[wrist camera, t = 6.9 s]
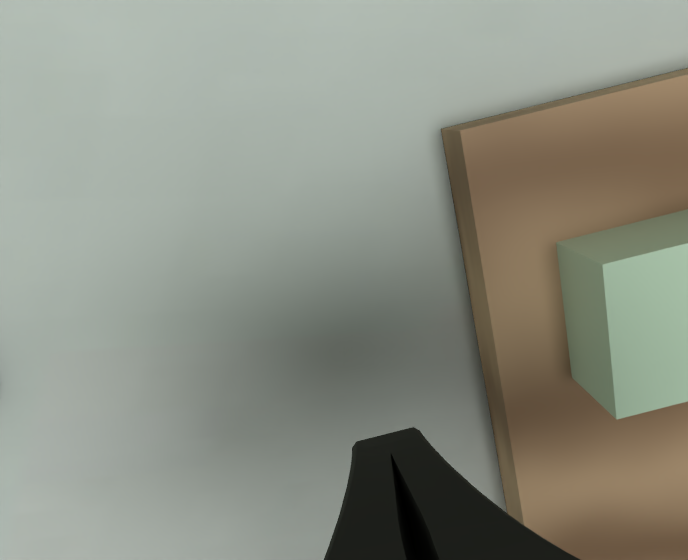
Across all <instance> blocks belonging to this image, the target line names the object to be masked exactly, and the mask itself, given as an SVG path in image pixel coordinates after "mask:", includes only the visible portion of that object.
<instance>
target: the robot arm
mask: <svg viewBox="0 0 688 560" xmlns="http://www.w3.org/2000/svg"><path fill="white" fill-rule="evenodd" d="M324 560H581V559H579V558H577V557H575V556H573V555H571V554H569V553H567V552H566V551H564V550H562V549H561V548H559V547H557V546H556V545H554V544H552V543H551V542H549V541H547V540H546V539H544V538H543V537H541V536H539V535H538V534H536V533H535V532H533V531H532V530H530V529H529V528H527V527H526V526H524V525H523V524H521V523H520V522H519V521H517V520H516V519H514V518H513V517H511V516H510V515H509V514H507V513H506V512H505V511H503V510H502V509H501V508H499V507H498V506H497V505H496V504H494V503H493V502H492V501H491V500H489V499H488V498H487V497H485V496H484V495H483V494H482V493H481V492H479V491H478V490H477V489H476V488H475V487H474V486H472V485H471V484H470V483H469V482H468V481H467V480H466V479H465V478H464V477H462V476H461V475H460V474H459V473H458V472H457V471H456V470H455V469H454V468H453V467H452V466H451V465H450V464H449V463H448V462H446V461H445V459H444V458H443V457H442V456H441V455H440V454H439V453H438V452H437V451H436V450H435V449H434V448H433V447H432V446H431V445H430V443H429V442H428V441H427V440H426V439H425V437H424V436H423V435H422V433H421V432H420V431H419V430H417V429H416V428H414V427H412V428H408V429H404V430H401V431H397V432H393V433H389V434H385V435H381V436H377V437H373V438H369V439H365V440H361V441H358V442H356V443H355V445H354V446H353V448H352V462H351V469H350V474H349V479H348V484H347V489H346V492H345V496H344V500H343V504H342V508H341V511H340V515H339V518H338V521H337V524H336V527H335V530H334V533H333V536H332V539H331V542H330V544H329V547H328V550H327V553H326V555H325V558H324Z"/></svg>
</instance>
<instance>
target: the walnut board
mask: <svg viewBox="0 0 688 560" xmlns="http://www.w3.org/2000/svg"><path fill="white" fill-rule="evenodd" d="M441 132H442V137H443V143H444V149H445V155H446V161H447V166H448V172H449V178H450V184H451V189H452V195H453V201H454V207H455V213H456V218H457V224H458V230H459V236H460V242H461V247H462V253H463V259H464V265H465V271H466V276H467V282H468V288H469V294H470V299H471V305H472V311H473V317H474V323H475V328H476V334H477V340H478V346H479V352H480V357H481V363H482V369H483V375H484V380H485V386H486V392H487V398H488V404H489V409H490V415H491V421H492V427H493V433H494V438H495V444H496V450H497V456H498V462H499V467H500V473H501V479H502V485H503V490H504V496H505V502H506V508H507V514H509V515H510V516H511V517H513V518H514V519H516V520H517V521H519V522H520V523H521V524H523V525H524V526H526V527H527V528H529V529H530V530H532V531H533V532H535V533H536V534H538V535H539V536H541V537H543V538H544V539H546V540H547V541H549V542H551V543H552V544H554V545H556V546H557V547H559V548H561V549H562V550H564V551H566V552H567V553H569V554H571V555H573V556H575V557H577V558H579V559H581V560H688V401H687V402H683V403H680V404H676V405H672V406H668V407H664V408H660V409H656V410H652V411H648V412H644V413H640V414H637V415H633V416H629V417H625V418H621V419H615V418H614V417H613V416H612V415H611V414H610V413H609V412H608V411H607V410H606V409H605V408H604V407H603V406H602V405H601V404H600V403H598V402H597V401H596V400H595V399H594V398H593V397H592V396H591V395H590V394H589V393H588V392H587V391H586V390H585V389H584V388H583V387H581V386H580V385H579V384H578V383H577V382H576V381H575V380H574V379H573V378H572V374H571V365H570V357H569V348H568V340H567V331H566V323H565V314H564V306H563V297H562V288H561V280H560V271H559V263H558V254H557V246H556V242H559V241H563V240H567V239H571V238H575V237H579V236H583V235H587V234H591V233H595V232H599V231H603V230H607V229H611V228H615V227H619V226H623V225H627V224H631V223H635V222H639V221H643V220H647V219H651V218H655V217H659V216H663V215H667V214H671V213H675V212H679V211H683V210H687V209H688V68H686V69H682V70H678V71H674V72H670V73H666V74H662V75H658V76H654V77H650V78H646V79H642V80H638V81H634V82H630V83H625V84H621V85H617V86H613V87H609V88H605V89H601V90H597V91H593V92H589V93H585V94H581V95H577V96H573V97H569V98H565V99H561V100H557V101H553V102H549V103H544V104H540V105H536V106H532V107H528V108H524V109H520V110H516V111H512V112H508V113H504V114H500V115H496V116H492V117H488V118H484V119H480V120H476V121H472V122H467V123H463V124H459V125H455V126H451V127H447V128H443V129H441Z"/></svg>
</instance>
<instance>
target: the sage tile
mask: <svg viewBox="0 0 688 560" xmlns="http://www.w3.org/2000/svg"><path fill="white" fill-rule="evenodd" d="M556 246H557V254H558V263H559V271H560V280H561V288H562V297H563V306H564V314H565V323H566V331H567V340H568V348H569V357H570V365H571V374H572V378H573V379H574V380H575V381H576V382H577V383H578V384H579V385H580V386H581V387H583V388H584V389H585V390H586V391H587V392H588V393H589V394H590V395H591V396H592V397H593V398H594V399H595V400H596V401H597V402H598V403H600V404H601V405H602V406H603V407H604V408H605V409H606V410H607V411H608V412H609V413H610V414H611V415H612V416H613V417H614V418H615V419H621V418H625V417H629V416H633V415H637V414H640V413H644V412H648V411H652V410H656V409H660V408H664V407H668V406H672V405H676V404H680V403H683V402H687V401H688V209H687V210H683V211H679V212H675V213H671V214H667V215H663V216H659V217H655V218H651V219H647V220H643V221H639V222H635V223H631V224H627V225H623V226H619V227H615V228H611V229H607V230H603V231H599V232H595V233H591V234H587V235H583V236H579V237H575V238H571V239H567V240H563V241H559V242H556Z"/></svg>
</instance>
